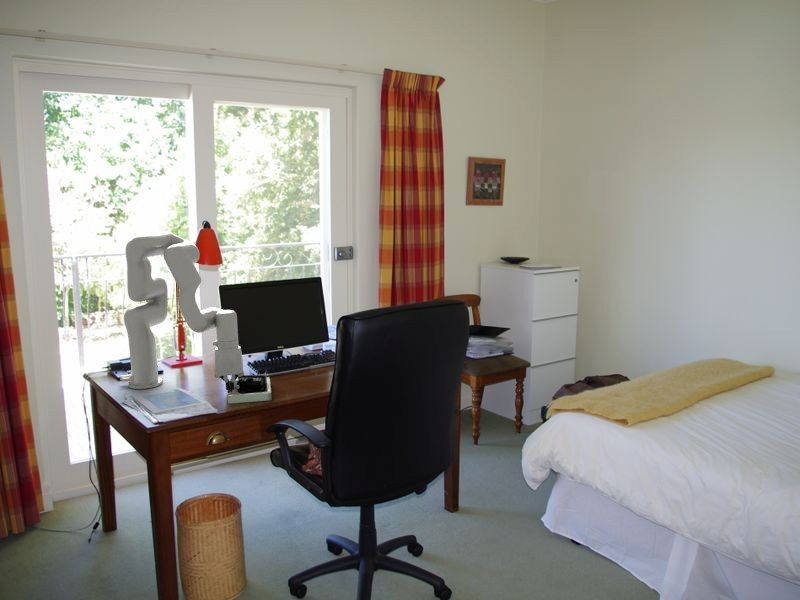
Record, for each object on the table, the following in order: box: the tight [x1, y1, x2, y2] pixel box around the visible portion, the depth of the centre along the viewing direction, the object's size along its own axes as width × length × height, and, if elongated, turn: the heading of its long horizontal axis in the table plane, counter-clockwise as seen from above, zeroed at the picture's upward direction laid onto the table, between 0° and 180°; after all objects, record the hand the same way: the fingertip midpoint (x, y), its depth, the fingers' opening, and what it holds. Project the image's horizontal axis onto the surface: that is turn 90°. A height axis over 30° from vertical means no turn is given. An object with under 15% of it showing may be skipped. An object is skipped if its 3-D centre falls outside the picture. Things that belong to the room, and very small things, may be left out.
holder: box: [227, 376, 272, 404], centre depth 244 cm, size 15×18×3 cm
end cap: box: [236, 374, 267, 394], centre depth 244 cm, size 10×7×7 cm
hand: (230, 391), depth 243 cm, fingers closed
